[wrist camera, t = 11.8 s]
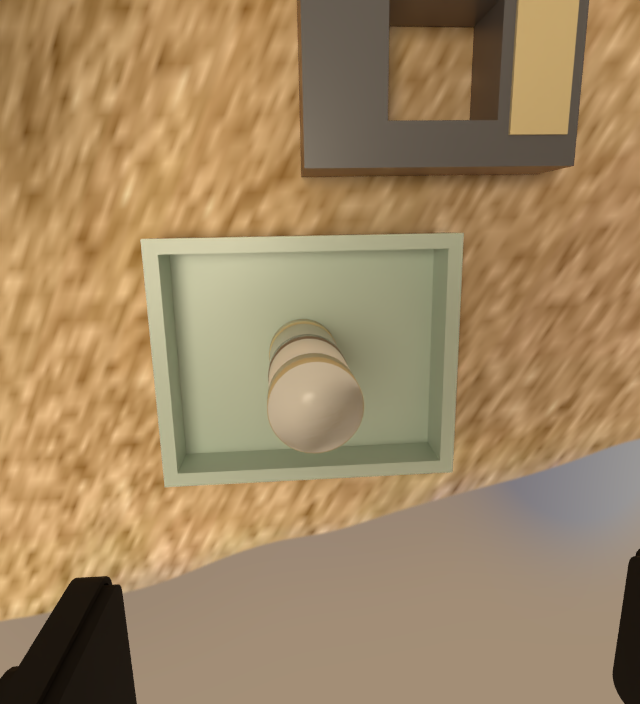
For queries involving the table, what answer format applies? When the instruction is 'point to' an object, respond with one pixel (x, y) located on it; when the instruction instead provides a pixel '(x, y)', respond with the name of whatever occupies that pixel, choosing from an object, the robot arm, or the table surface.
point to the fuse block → (486, 91)
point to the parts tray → (315, 304)
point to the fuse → (311, 389)
